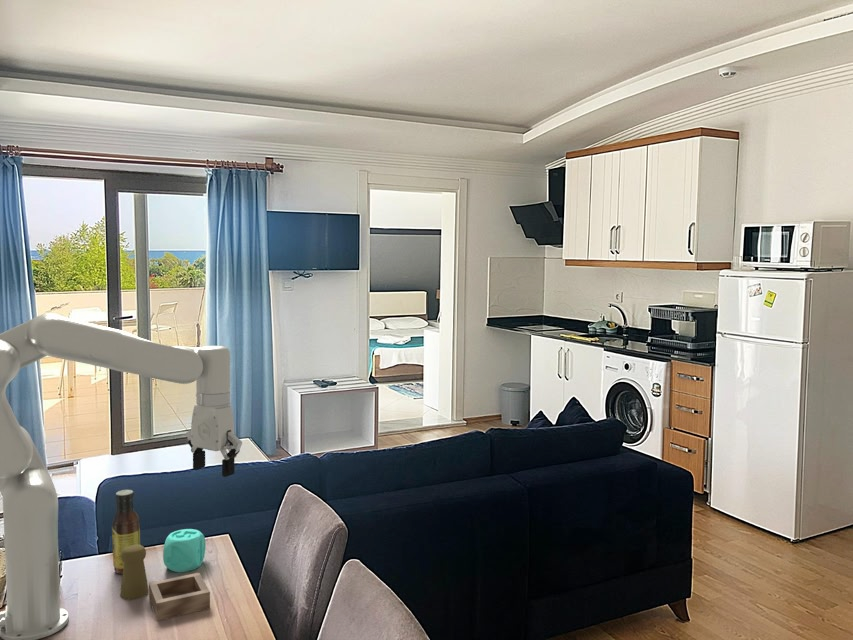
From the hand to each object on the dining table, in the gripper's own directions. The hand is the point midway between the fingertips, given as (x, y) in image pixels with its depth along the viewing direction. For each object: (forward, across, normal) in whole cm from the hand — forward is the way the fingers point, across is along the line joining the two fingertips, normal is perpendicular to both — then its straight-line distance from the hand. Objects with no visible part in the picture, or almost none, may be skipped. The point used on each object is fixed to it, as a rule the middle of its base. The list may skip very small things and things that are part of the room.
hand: (213, 471), depth 162 cm
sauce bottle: (+28, -24, -6) cm, 37 cm away
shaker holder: (+27, +1, -11) cm, 29 cm away
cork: (+28, -12, -13) cm, 33 cm away
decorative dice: (+27, -14, +4) cm, 31 cm away
